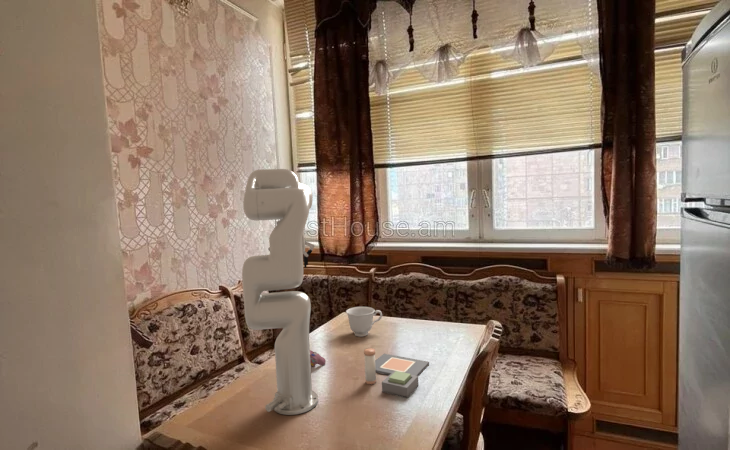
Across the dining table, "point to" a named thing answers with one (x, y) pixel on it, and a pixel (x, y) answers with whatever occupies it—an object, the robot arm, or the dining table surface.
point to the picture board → (399, 365)
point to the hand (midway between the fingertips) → (292, 267)
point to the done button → (400, 377)
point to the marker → (370, 366)
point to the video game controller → (316, 359)
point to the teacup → (362, 319)
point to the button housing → (400, 387)
